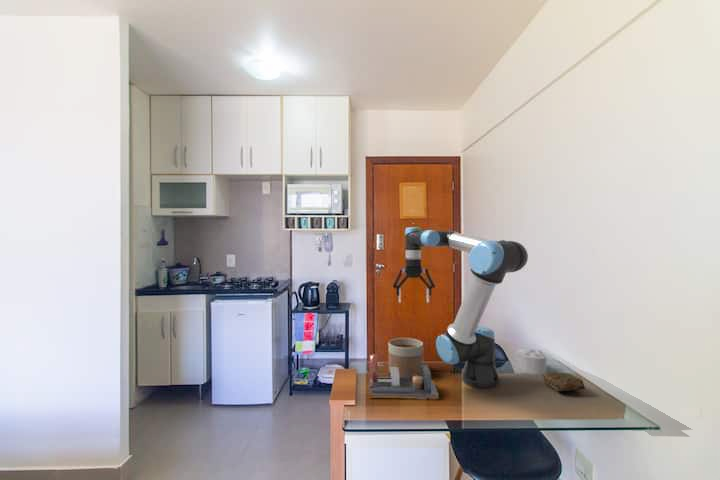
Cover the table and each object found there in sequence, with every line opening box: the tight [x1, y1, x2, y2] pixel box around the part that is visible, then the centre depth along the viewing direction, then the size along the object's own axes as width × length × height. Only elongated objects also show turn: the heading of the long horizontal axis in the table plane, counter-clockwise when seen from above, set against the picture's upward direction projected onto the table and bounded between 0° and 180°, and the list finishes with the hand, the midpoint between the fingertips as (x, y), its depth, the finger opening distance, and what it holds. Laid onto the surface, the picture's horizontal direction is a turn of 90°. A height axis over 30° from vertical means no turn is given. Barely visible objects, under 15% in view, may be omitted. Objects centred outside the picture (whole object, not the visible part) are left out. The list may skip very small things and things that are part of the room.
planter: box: [387, 337, 424, 379], centre depth 153 cm, size 16×16×14 cm
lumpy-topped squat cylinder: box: [516, 347, 547, 375], centre depth 155 cm, size 10×13×9 cm
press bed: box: [369, 364, 440, 399], centre depth 133 cm, size 26×13×9 cm, turn 87°
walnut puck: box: [412, 376, 423, 389], centre depth 132 cm, size 4×4×4 cm
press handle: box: [369, 353, 400, 388], centre depth 133 cm, size 12×8×12 cm
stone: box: [542, 371, 586, 392], centre depth 134 cm, size 10×14×6 cm
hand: (413, 302), depth 162 cm, fingers open, 13 cm apart
